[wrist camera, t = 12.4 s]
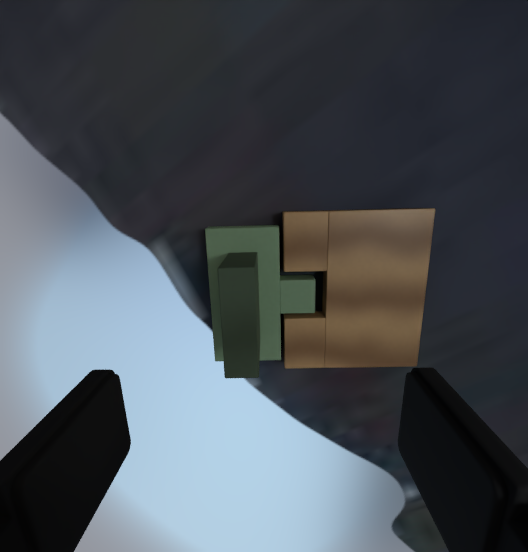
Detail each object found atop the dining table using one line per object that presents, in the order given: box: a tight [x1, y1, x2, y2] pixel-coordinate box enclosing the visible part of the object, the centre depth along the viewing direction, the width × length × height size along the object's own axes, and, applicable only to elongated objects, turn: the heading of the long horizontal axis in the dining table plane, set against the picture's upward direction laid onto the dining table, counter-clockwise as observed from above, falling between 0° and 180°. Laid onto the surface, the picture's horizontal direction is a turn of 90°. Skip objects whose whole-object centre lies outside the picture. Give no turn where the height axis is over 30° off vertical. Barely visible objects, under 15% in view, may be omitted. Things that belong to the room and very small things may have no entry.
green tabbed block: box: [205, 225, 315, 378], centre depth 23 cm, size 12×9×8 cm
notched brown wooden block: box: [282, 208, 435, 368], centre depth 26 cm, size 14×12×2 cm
